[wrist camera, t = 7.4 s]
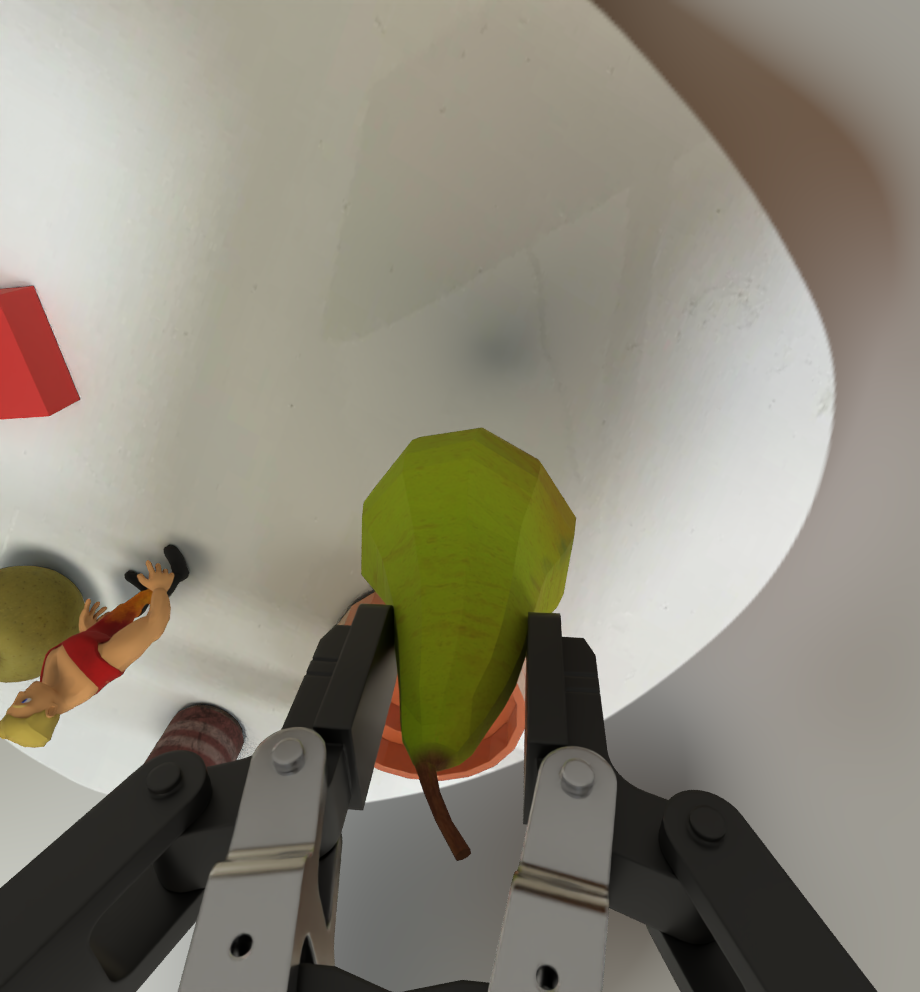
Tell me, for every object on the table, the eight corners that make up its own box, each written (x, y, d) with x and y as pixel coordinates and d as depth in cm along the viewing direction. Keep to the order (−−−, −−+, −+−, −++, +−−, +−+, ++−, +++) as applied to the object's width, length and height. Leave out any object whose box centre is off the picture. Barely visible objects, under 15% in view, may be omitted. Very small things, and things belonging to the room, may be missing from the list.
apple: (29, 525, 44) (-54, 587, 38) (125, 595, 46) (61, 664, 40) (-15, 581, 47) (-99, 647, 41) (77, 644, 49) (11, 715, 43)
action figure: (187, 523, 42) (33, 689, 29) (224, 561, 44) (92, 736, 31) (101, 580, 46) (-72, 751, 33) (137, 613, 47) (-15, 791, 34)
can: (261, 728, 52) (177, 906, 40) (223, 762, 54) (133, 938, 42) (199, 688, 50) (91, 860, 38) (163, 725, 53) (51, 897, 41)
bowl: (528, 582, 42) (527, 632, 37) (524, 730, 49) (523, 787, 44) (322, 575, 43) (299, 622, 39) (347, 719, 50) (329, 773, 46)
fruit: (357, 421, 20) (151, 722, 9) (552, 379, 18) (568, 678, 8) (415, 583, 23) (307, 954, 12) (588, 557, 21) (635, 950, 11)
